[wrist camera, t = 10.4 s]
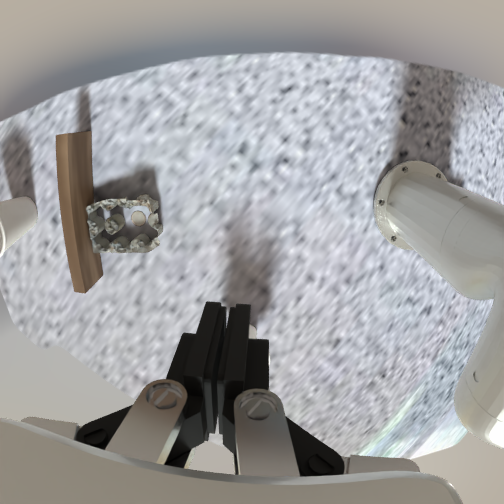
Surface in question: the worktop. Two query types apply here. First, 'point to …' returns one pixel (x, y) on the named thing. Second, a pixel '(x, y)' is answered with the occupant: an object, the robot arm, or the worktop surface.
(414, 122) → the worktop surface
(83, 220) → the walnut board
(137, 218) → the egg carton
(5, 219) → the dixie cup
